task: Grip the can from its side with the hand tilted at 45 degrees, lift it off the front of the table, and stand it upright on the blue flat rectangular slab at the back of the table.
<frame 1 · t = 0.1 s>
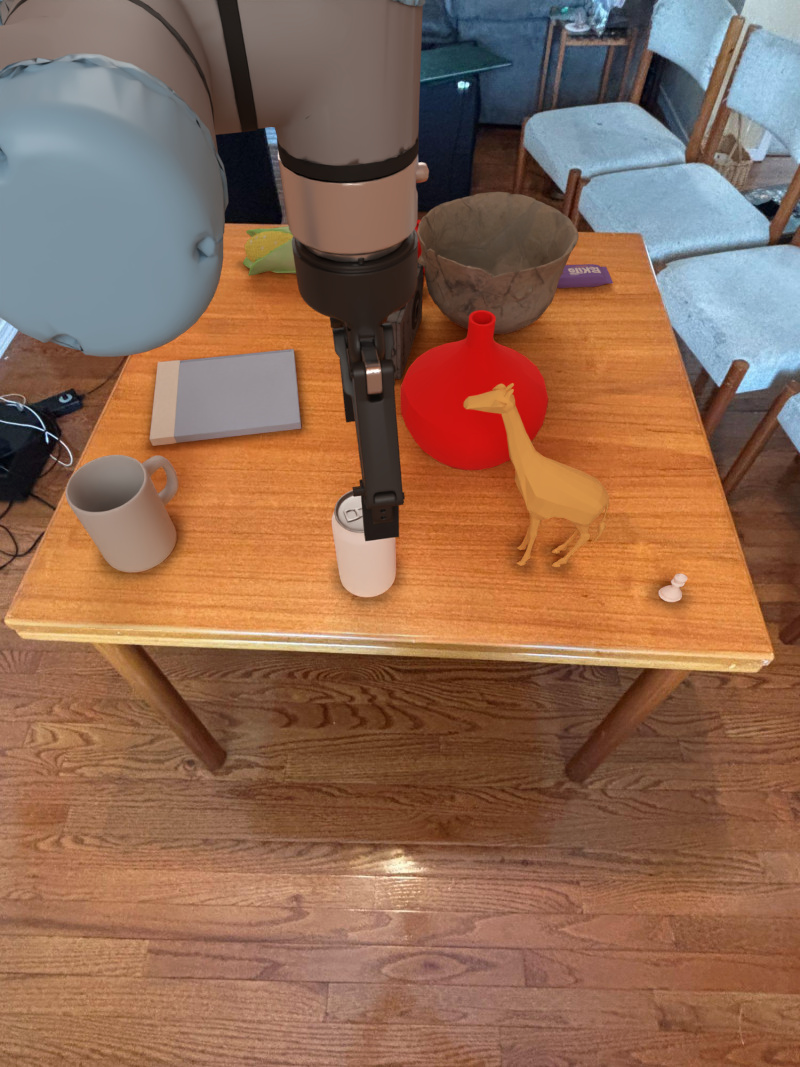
hand: (370, 472, 54), 21 cm above the table, tool pointing down, fingers open, 13 cm apart
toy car: (410, 274, 109), on the table
mug: (152, 534, 77), on the table
snack package: (574, 282, 108), on the table
bowl: (487, 320, 102), on the table, touching camera
vase: (468, 442, 85), on the table
corn: (298, 271, 110), on the table
giraffe: (519, 556, 74), on the table
can: (368, 575, 73), on the table
camera: (399, 349, 97), on the table, touching bowl
blue flat rectangular slab: (228, 397, 91), on the table
chess pawn: (669, 596, 71), on the table
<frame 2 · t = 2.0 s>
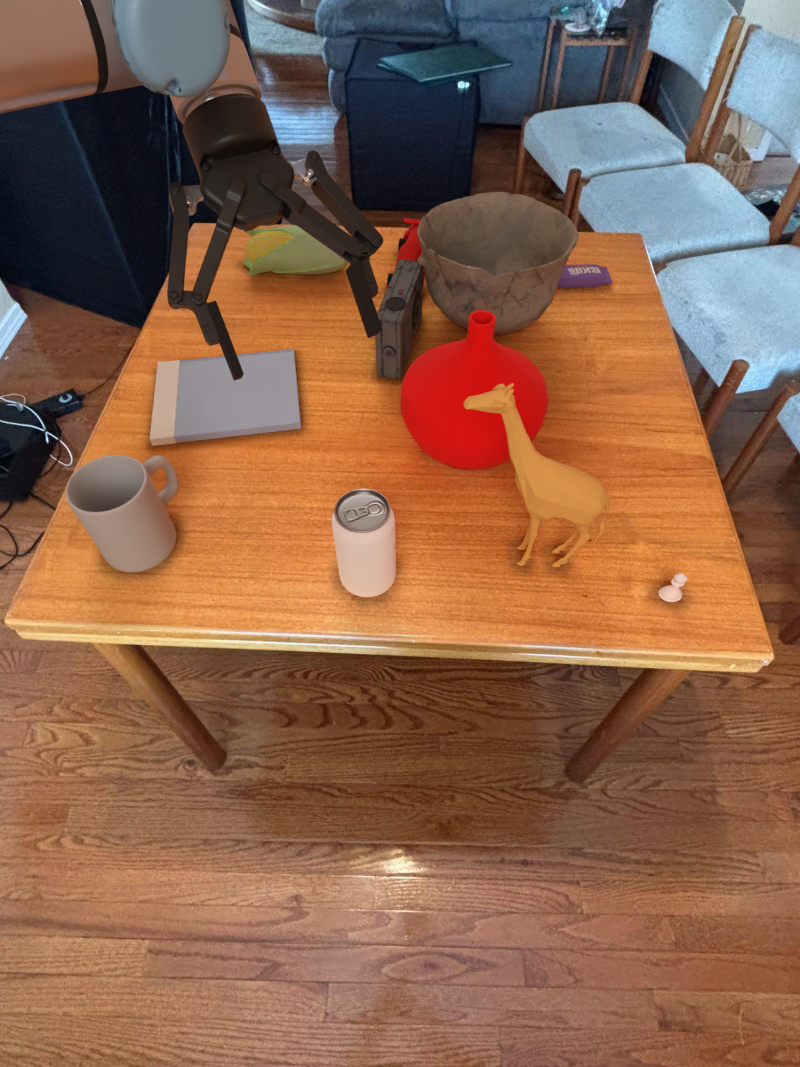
hand: (309, 355, 59), 24 cm above the table, tool tilted 45°, fingers open, 13 cm apart
nothing on the table moved.
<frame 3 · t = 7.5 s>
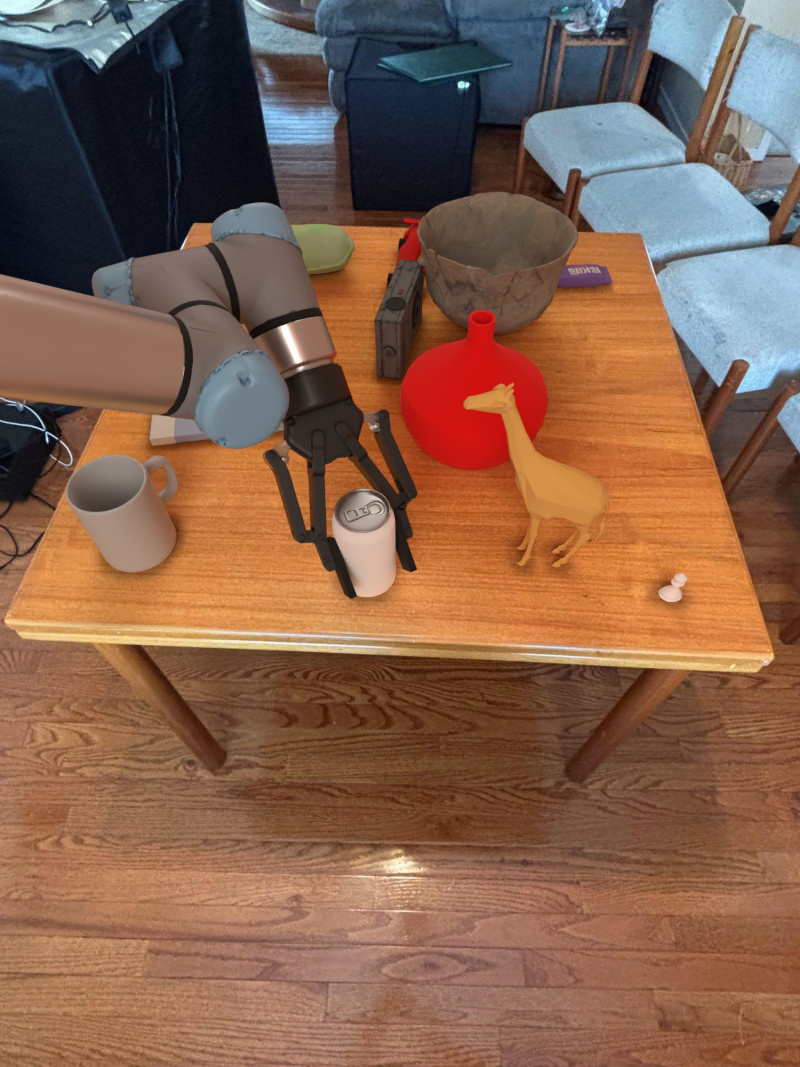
hand: (380, 581, 68), 4 cm above the table, tool tilted 45°, fingers closed on can, 6 cm apart
can: (368, 575, 73), on the table, touching gripper
everything else where it was.
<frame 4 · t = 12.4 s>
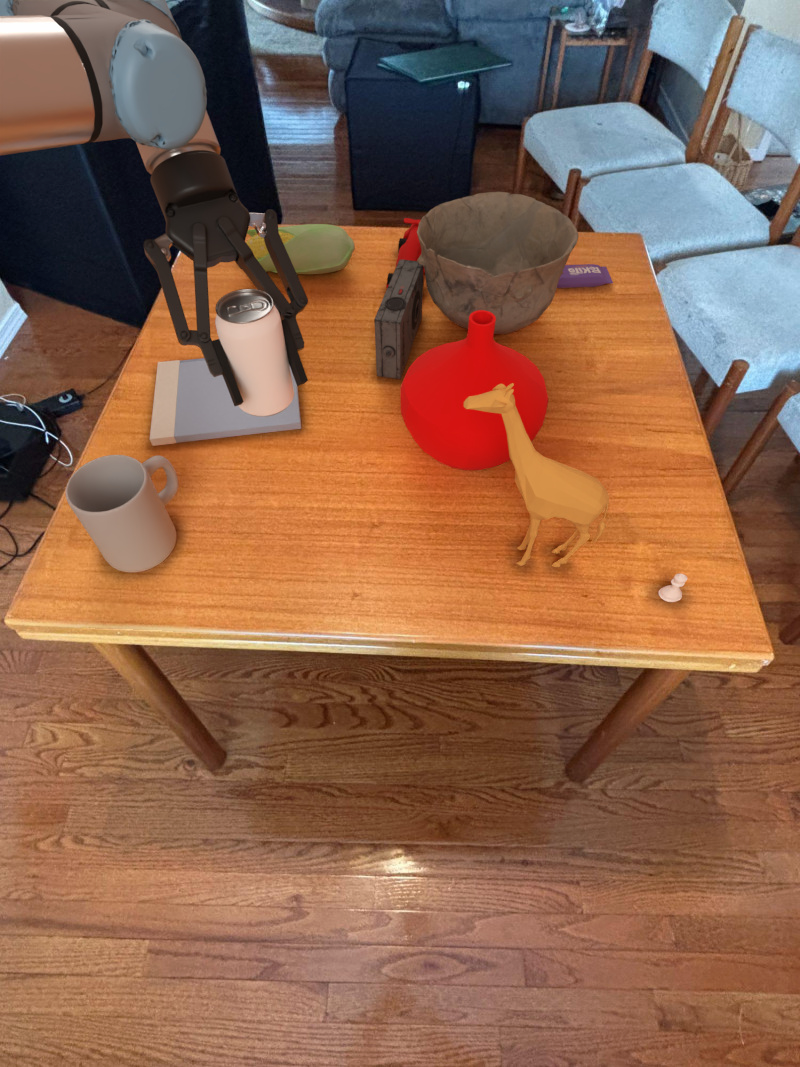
hand: (271, 393, 67), 16 cm above the table, tool tilted 45°, fingers closed on can, 6 cm apart
can: (266, 400, 72), point 13 cm above the table, touching gripper
everything else where it was.
when the fingers open (5 cm above the table, at t = 17.6 s): can stays where it is, resting on blue flat rectangular slab.
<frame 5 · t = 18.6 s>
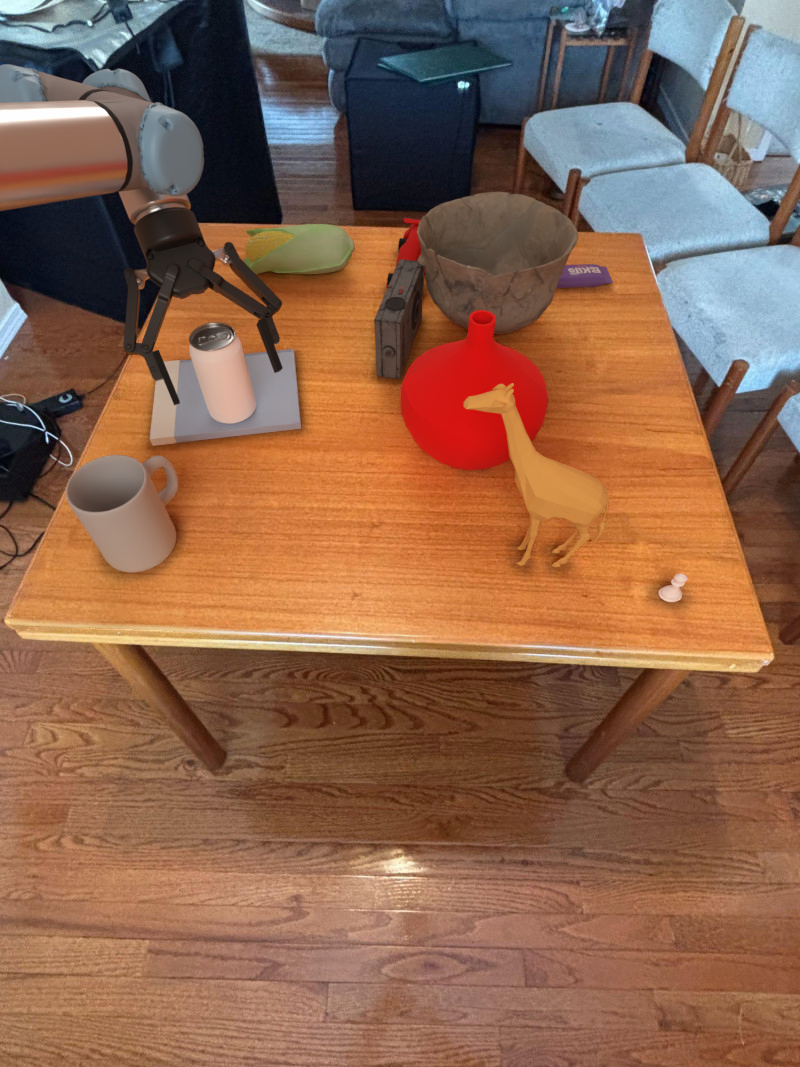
hand: (229, 386, 82), 7 cm above the table, tool tilted 45°, fingers open, 13 cm apart
can: (233, 410, 88), point 1 cm above the table, touching blue flat rectangular slab
everything else where it was.
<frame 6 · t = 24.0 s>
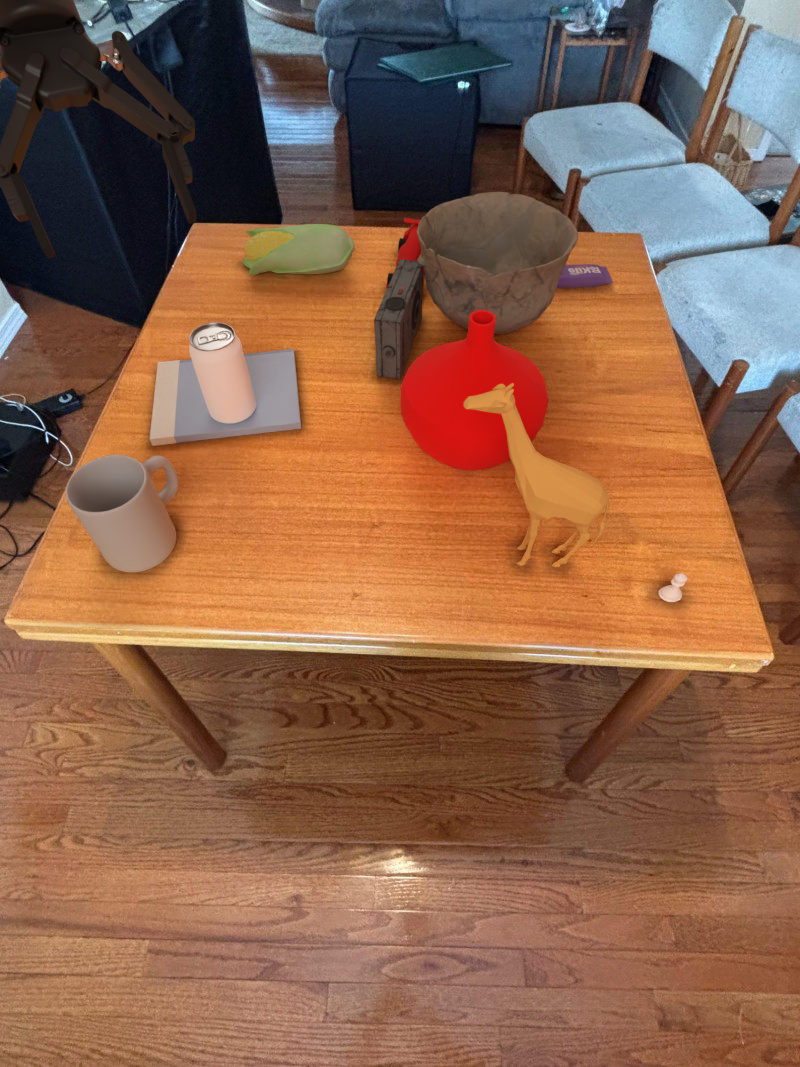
hand: (123, 235, 61), 30 cm above the table, tool tilted 45°, fingers open, 13 cm apart
nothing on the table moved.
at the end: can inside the target area on the blue flat rectangular slab (3.6 cm from its centre), point 1.0 cm above the blue flat rectangular slab's base; can tilted 0°; the gripper is holding nothing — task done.
